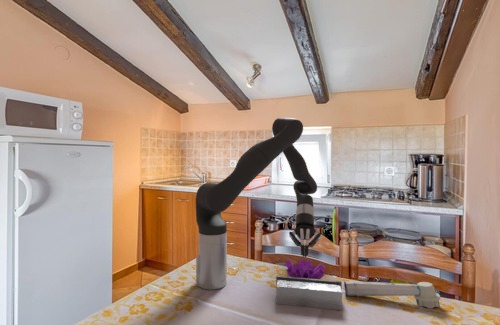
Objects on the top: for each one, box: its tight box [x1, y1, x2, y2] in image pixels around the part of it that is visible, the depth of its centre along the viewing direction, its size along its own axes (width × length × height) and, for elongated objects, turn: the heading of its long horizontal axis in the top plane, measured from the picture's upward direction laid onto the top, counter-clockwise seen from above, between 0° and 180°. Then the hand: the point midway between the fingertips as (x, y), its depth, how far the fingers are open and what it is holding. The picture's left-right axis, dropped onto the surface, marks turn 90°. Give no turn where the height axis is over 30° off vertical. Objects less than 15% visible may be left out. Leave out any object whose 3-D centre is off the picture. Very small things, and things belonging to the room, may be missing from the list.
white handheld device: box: [343, 279, 441, 309], centre depth 83 cm, size 5×7×25 cm
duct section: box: [275, 275, 343, 311], centre depth 82 cm, size 19×6×6 cm, turn 79°
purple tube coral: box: [284, 259, 326, 280], centre depth 95 cm, size 11×15×10 cm
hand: (304, 255), depth 107 cm, fingers closed
